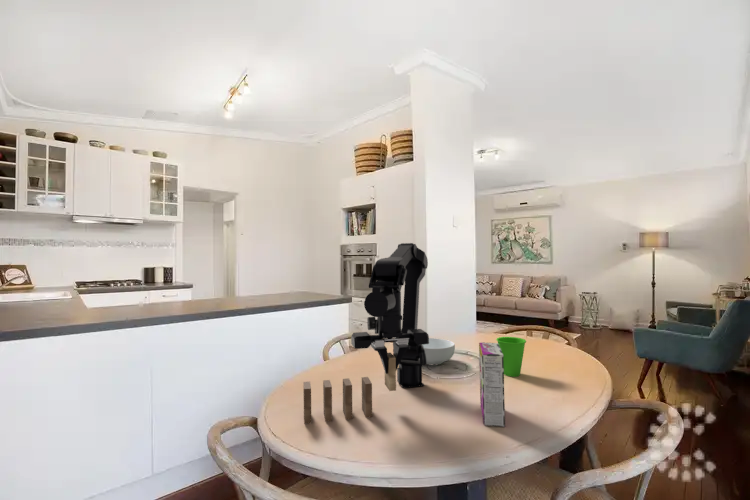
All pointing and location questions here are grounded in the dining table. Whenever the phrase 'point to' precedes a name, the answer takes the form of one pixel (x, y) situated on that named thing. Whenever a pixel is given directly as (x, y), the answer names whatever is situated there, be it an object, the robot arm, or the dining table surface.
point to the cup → (512, 354)
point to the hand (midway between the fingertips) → (390, 372)
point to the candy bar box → (492, 384)
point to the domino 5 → (391, 373)
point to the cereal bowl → (438, 350)
